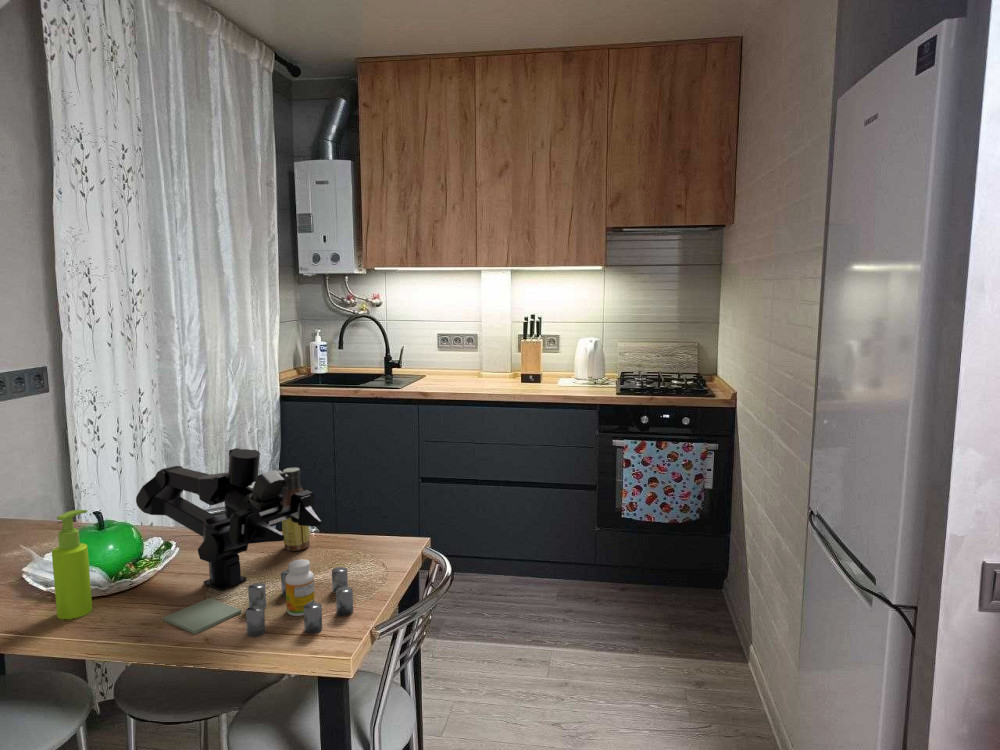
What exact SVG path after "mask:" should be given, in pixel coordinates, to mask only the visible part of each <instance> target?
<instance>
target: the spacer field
mask: <svg viewBox="0 0 1000 750" xmlns="http://www.w3.org/2000/svg"><path fill="white" fill-rule="evenodd" d="M289 573H290V572H289V569H285V570H282V571H281V573H280V581H281V582H280V583H281V584H280V585H281V595H282V597H286V583H285V581H286V580H285V579H286V576H287V575H288V574H289ZM348 575H349V574H348V568H347V567H344V566H338V567H334V568H333V569H332V570H331V585H332V586H331V588H332V591H333V592H335V593H336V594H335V593H334V594H335V605H336V606H335V607H336V608H335V609H336V615H337V614H338V615H337V616H339V615H340V616H339V617H347V616H350V614H351V615H352V614H353V613H354V594H353V593H354V592H353V588H352V587H349V581H348ZM247 589H248V590H247V591H248V595H247V597H248V607H247V608H246V610H245V616H246V617H245V618H246V635H247V636H248V637H250V638H251V637H252V638H256V637H260V636H263V635H264V634H265V633H266V614H265V609H266V608H267V596H266V595H267V593H266V584H265V583H263V582H256V583H251V584H249V585H248V587H247ZM333 592H332V593H333ZM322 609H323V607H322V603H321V602H316V601H315V602H313V603H308V604H306V605H305V606H304V615H303V625H304V628H303V629H304V632H305V634H311V635H313V634H317V633H320V632H321V631H322V630H323V613H322V611H323V610H322Z"/></svg>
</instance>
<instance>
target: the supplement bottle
mask: <svg viewBox="0 0 1000 750" xmlns="http://www.w3.org/2000/svg"><path fill="white" fill-rule="evenodd" d="M288 570H289V572H290V573H289V574H288V575H287V576H286V579H285V580H286V581H285V583H286V596H285V600H286V602H285V603H286V605H285V607H286V612H287V614H288V615H290V616H294V617H303V616H304V606H305V605H306V604H308V603H313V602H316V598H315V597H316V595H315V593H316V592H315V575H314V573H313V571H311V563H310V560H308V559H304V558H303V559H302V558H301V559H294V560H292V561H290V562H289V563H288Z"/></svg>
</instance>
